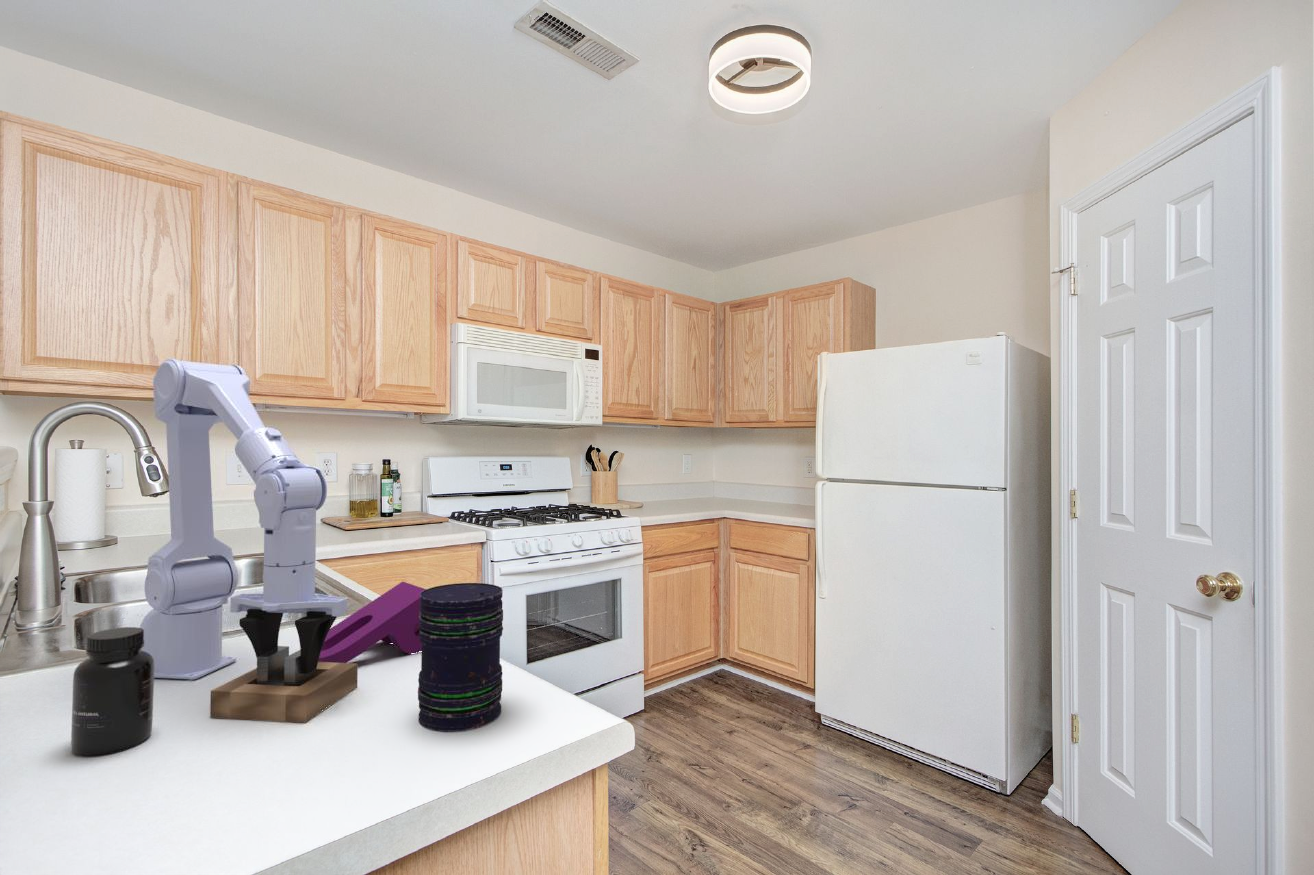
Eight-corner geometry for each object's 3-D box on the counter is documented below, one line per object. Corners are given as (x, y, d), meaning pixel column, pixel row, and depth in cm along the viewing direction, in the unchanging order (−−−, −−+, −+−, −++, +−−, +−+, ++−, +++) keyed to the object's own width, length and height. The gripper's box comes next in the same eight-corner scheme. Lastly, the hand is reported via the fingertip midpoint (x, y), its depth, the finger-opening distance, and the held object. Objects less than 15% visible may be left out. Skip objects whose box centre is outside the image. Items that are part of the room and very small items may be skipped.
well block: (210, 717, 77) (210, 690, 77) (273, 683, 88) (273, 659, 88) (305, 722, 76) (305, 695, 76) (357, 687, 87) (357, 663, 87)
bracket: (256, 701, 80) (257, 656, 80) (278, 688, 84) (278, 646, 84) (294, 703, 80) (295, 658, 80) (315, 690, 84) (315, 647, 84)
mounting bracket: (347, 711, 94) (450, 633, 105) (321, 665, 91) (430, 590, 103) (322, 693, 100) (422, 622, 112) (297, 649, 97) (402, 581, 109)
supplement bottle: (61, 763, 66) (63, 645, 66) (82, 736, 72) (84, 628, 72) (145, 749, 69) (147, 637, 69) (159, 724, 75) (160, 621, 75)
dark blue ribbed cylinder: (398, 724, 76) (400, 596, 76) (452, 693, 85) (453, 580, 85) (470, 738, 73) (471, 605, 73) (517, 705, 82) (519, 586, 82)
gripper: (212, 567, 79) (210, 678, 79) (325, 570, 78) (323, 684, 78) (253, 556, 86) (252, 659, 86) (357, 560, 85) (356, 664, 85)
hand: (288, 670), depth 82 cm, fingers closed on bracket, 5 cm apart
